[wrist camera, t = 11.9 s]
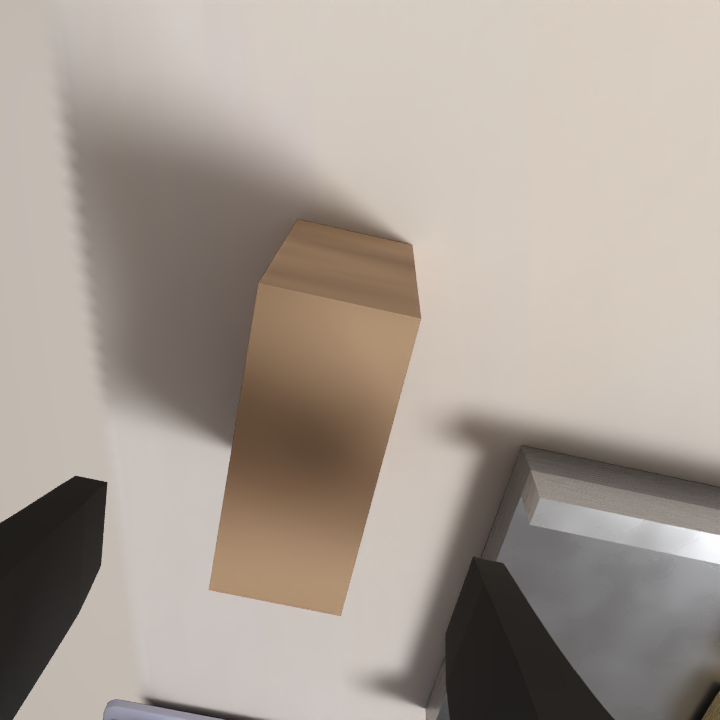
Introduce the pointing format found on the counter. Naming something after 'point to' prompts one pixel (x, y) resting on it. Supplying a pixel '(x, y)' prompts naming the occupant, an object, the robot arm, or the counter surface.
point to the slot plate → (616, 580)
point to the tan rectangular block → (315, 414)
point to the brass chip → (713, 709)
